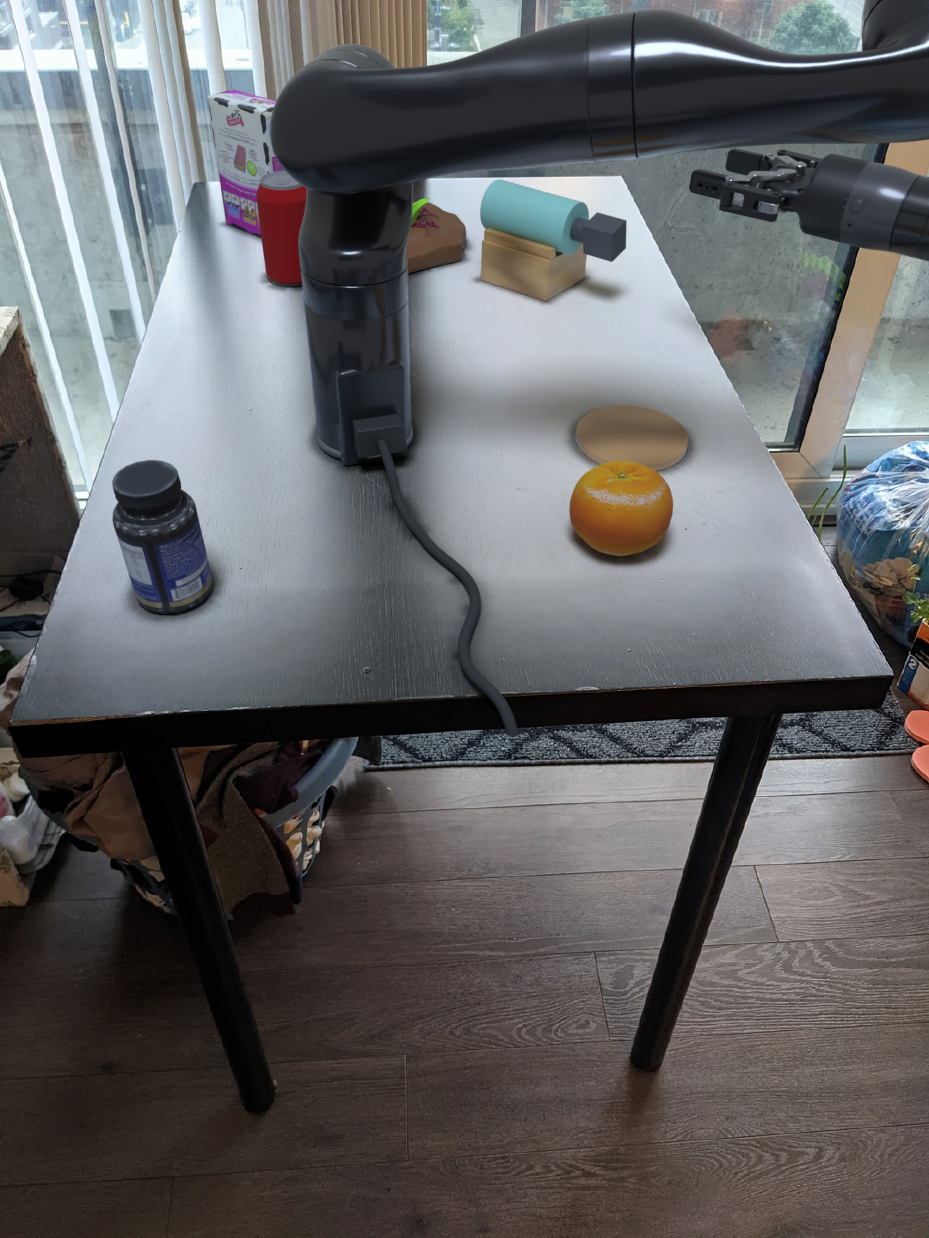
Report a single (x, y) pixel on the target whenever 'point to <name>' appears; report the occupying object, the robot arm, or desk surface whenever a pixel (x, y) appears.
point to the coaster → (631, 436)
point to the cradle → (529, 265)
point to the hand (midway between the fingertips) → (710, 169)
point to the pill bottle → (160, 537)
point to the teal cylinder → (551, 220)
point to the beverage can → (281, 225)
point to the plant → (434, 237)
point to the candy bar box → (242, 153)
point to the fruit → (621, 507)
